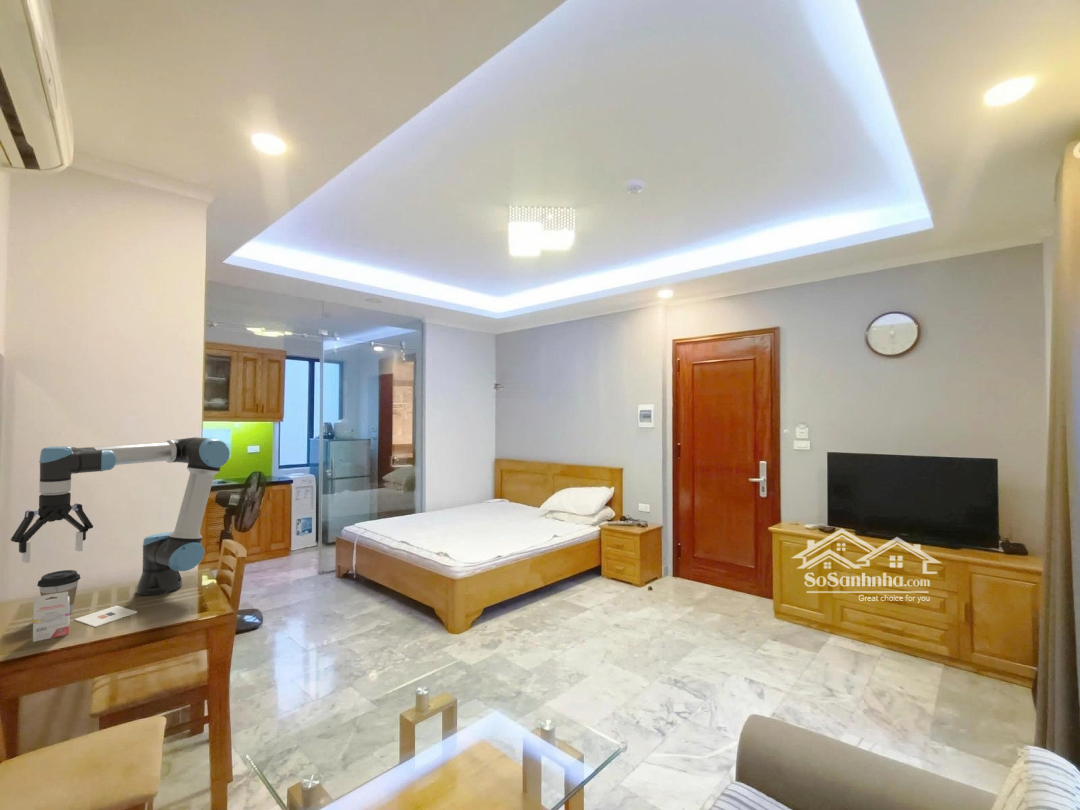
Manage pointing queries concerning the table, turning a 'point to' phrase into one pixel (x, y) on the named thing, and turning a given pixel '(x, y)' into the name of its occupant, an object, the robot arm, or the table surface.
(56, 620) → the ink cartridge box
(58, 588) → the coffee cup
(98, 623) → the pad
